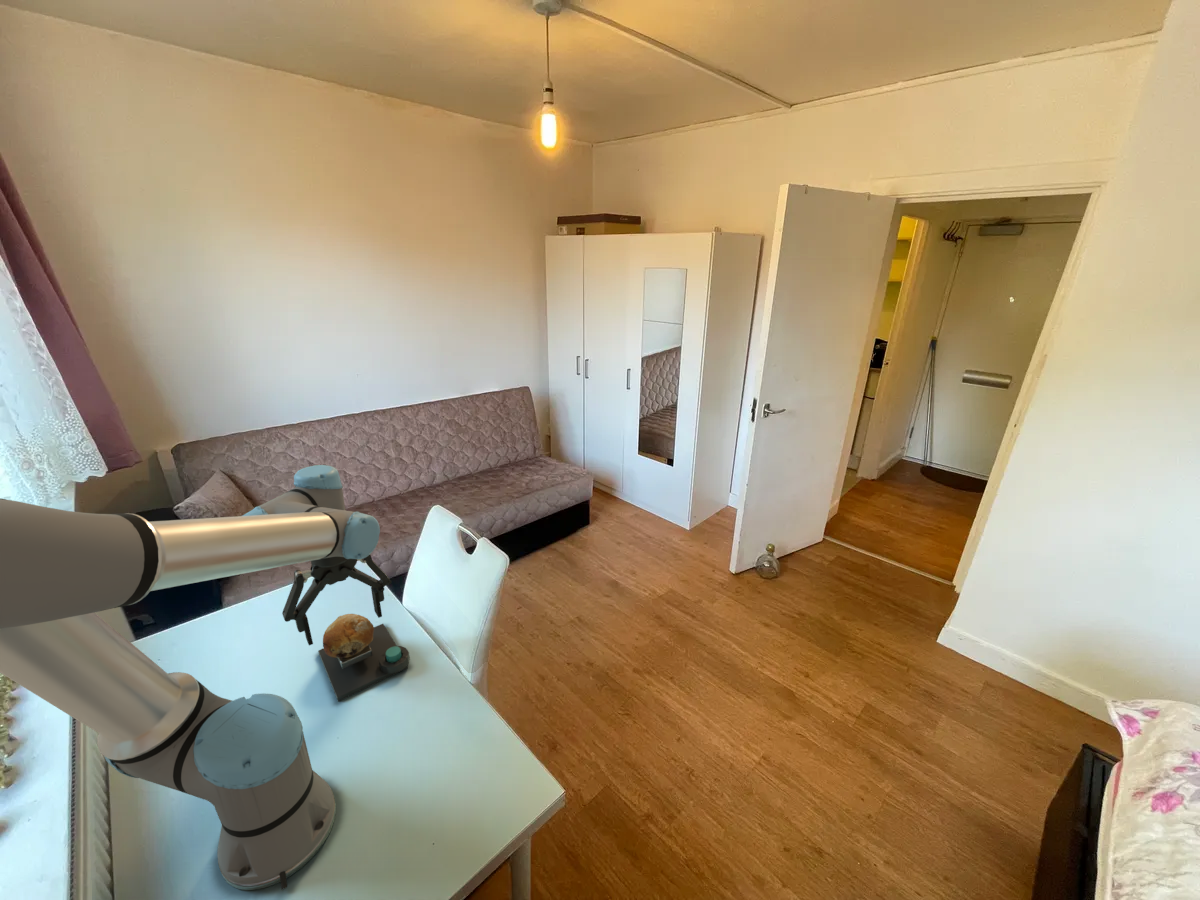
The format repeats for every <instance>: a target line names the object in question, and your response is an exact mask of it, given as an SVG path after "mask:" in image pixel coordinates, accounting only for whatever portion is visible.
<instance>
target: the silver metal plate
mask: <svg viewBox="0 0 1200 900" xmlns="http://www.w3.org/2000/svg"><path fill="white" fill-rule="evenodd" d="M370 656H372V650H371V649H370V647H369V645H368V646H367V647H366V648H365V649H363V650H362V651H361V652H359V653H357V654H355V655H353V656H351V657H348V658H338V660H339V662H340V665H341V667H342V669H344V668H346V667H348V666H350V665H353V664H355V663H357V662H359V661H361V660H364V659H366V658H368V657H370Z"/></svg>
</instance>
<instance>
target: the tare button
mask: <svg viewBox="0 0 1200 900" xmlns="http://www.w3.org/2000/svg"><path fill="white" fill-rule="evenodd" d="M397 646H398V645H396V646H394V647H391V648H389V649H388V650H387V651H386V659H387V661H388V662H389V663H394V662H397V661H398V660H400V658H401V649H400V648H399V647H397Z"/></svg>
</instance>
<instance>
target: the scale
mask: <svg viewBox="0 0 1200 900" xmlns="http://www.w3.org/2000/svg"><path fill="white" fill-rule="evenodd" d="M373 627H374V632H373V640H372V642H371V643H370V644H369V647H370V649H371V650H372V656H370V657H368V658H366V659H364V660H361V661H359V662H357V663H355V664H353V665H350V666H348V667H346V668H344V669H342V667H341V665H340V662H339V660H338V658H333V657H330V656H328V655H327V654H326V653H325V651H324V647H322V648H321V649H319V650H318V655H319V658H320V660H321V662H322V666H323V667H324V670H325V674H326V675H327V678H328V681H329V684H330V685H331V688H332V691H333V693H334V695H335V697H336V701H337V702H341V701H343V700H345V699H347V698H349V697H351V696H353V695H355V694H358V693H359V692H362V691H364V690H366V689H368V688H370V687H372V686H374V685H376V684H378V683H380V682H382V681H385V680H387V679H388V678H390V677H393V676H394V675H396V674H399V673H401V672H403V671H404V670H407V669H408V668H409V666H408V665H409V663H410V660H411V659H410V652H409V650H408V648H407V647H405V646H402V645H397V644H396V643H395V641H394V639H393V638H392V635H391V634H390V632H389V631H388V629H387V628H386V626H385V624H384V623H381V624H379V625H375V626H373ZM394 646H397V647H399V648H400V649H401V658H400V660H398V661H397V662H394V663H389V662H388V661H387V659H386V651H387V650H388V649H389V648H391V647H394Z"/></svg>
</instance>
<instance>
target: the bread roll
mask: <svg viewBox="0 0 1200 900" xmlns="http://www.w3.org/2000/svg"><path fill="white" fill-rule="evenodd" d="M374 627H375V626H374V625H373V623H372V622H371V621H370V620H369V619H368V617H366V616H364V615H360V614H356V613H345V614H342V615H339V616H338V617H337V618H336V619H335V620H334V621H332V622H331V624H329V625H328V626H327V627H326V629H325V631H324V634H323V635H322V636H323V637H322V648H324V651H325V653H326V654H327V655H328V656H330V657H333V658H348V657H351V656H353V655H355V654H357V653H359V652H361V651H362V650H363V649H365V648H366V647H367V646H368V645H369V644H370V643H371V642H372V640H373V632H374Z"/></svg>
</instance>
